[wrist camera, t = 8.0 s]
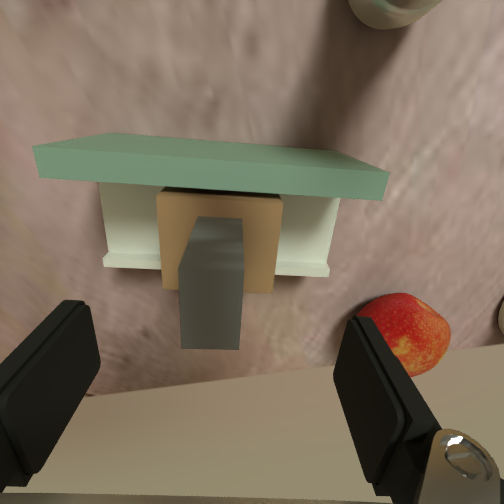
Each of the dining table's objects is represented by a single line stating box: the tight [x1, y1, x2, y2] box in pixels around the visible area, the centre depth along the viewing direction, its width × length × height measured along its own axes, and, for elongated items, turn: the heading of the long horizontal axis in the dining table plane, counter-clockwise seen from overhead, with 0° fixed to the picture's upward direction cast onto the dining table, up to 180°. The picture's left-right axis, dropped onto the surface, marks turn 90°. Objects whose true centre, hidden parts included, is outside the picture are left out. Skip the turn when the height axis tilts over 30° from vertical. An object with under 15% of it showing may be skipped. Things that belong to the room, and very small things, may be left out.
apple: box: [357, 293, 451, 377], centre depth 29 cm, size 8×8×8 cm
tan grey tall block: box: [156, 186, 284, 350], centre depth 18 cm, size 7×6×13 cm
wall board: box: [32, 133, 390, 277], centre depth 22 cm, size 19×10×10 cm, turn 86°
